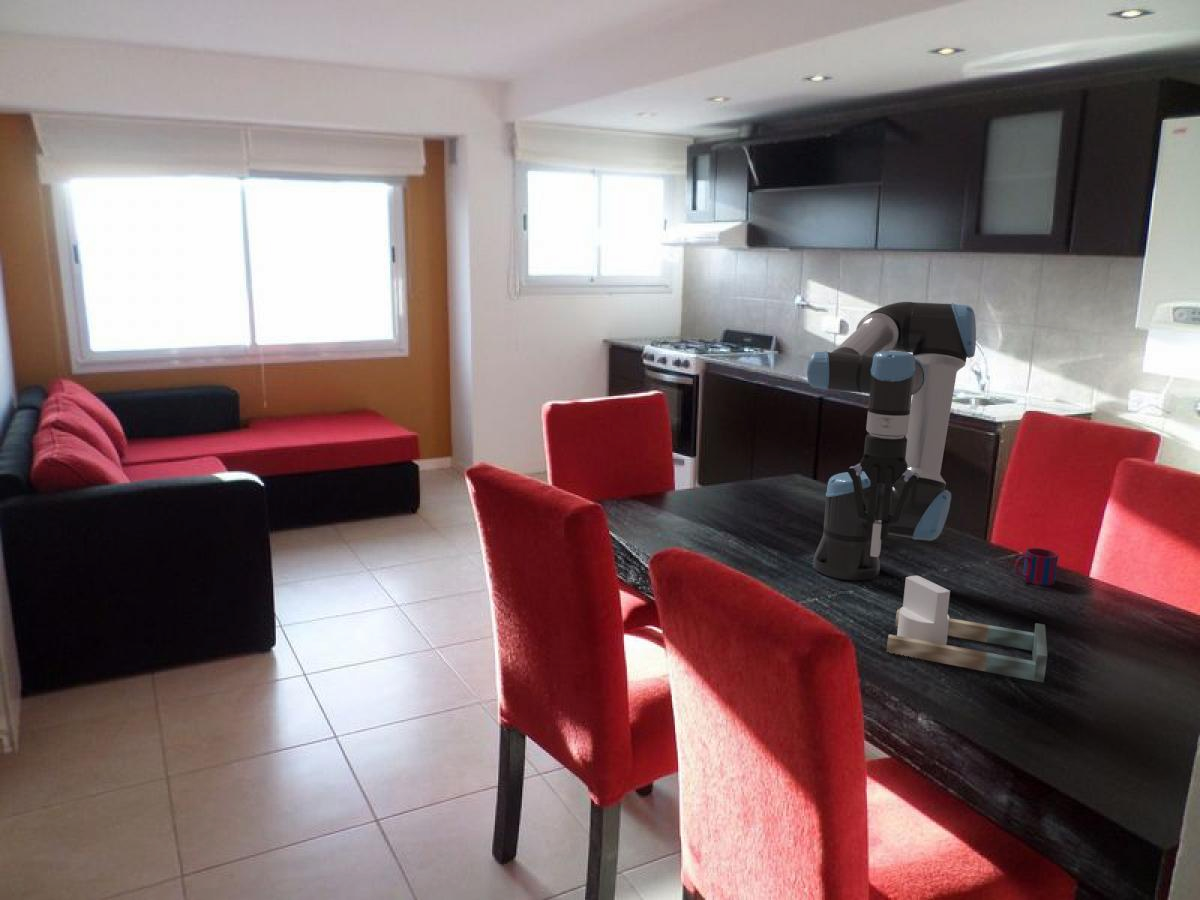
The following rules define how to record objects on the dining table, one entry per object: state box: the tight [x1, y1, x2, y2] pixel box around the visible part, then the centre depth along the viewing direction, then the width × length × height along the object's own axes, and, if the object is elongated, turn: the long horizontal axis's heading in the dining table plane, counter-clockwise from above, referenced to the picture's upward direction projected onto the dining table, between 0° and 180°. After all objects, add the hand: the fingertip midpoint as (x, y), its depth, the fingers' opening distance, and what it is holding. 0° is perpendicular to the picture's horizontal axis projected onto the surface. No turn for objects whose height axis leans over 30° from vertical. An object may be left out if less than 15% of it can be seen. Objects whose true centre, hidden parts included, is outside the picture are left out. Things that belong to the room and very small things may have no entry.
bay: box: [886, 608, 1048, 683], centre depth 170 cm, size 27×15×5 cm, turn 66°
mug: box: [1014, 547, 1059, 587], centre depth 207 cm, size 7×10×7 cm
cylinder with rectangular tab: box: [896, 575, 951, 645], centre depth 172 cm, size 9×9×12 cm
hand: (875, 554), depth 174 cm, fingers closed
